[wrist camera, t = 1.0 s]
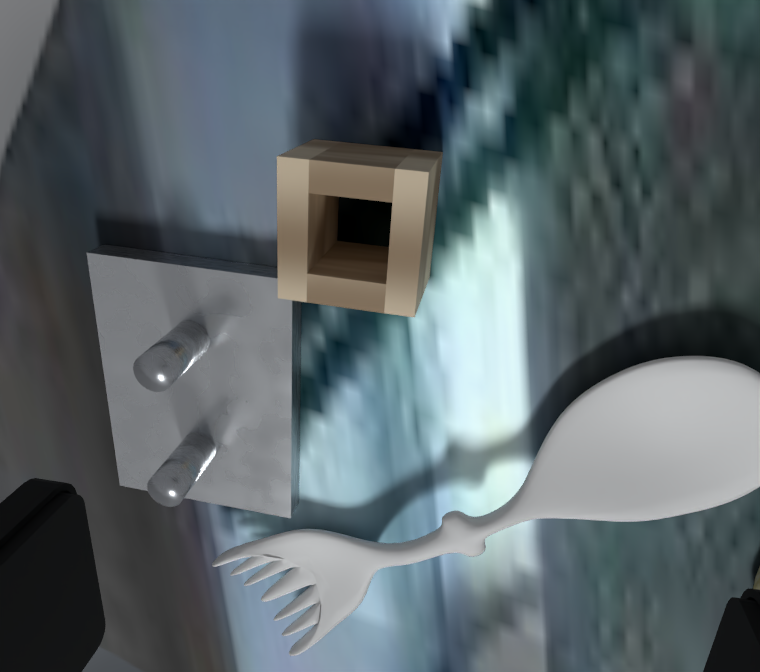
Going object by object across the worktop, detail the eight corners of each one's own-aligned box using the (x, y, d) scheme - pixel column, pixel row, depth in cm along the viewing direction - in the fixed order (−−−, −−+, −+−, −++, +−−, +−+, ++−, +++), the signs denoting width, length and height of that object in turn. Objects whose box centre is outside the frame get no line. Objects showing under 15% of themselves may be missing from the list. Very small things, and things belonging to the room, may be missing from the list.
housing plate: (104, 244, 33) (33, 278, 29) (301, 270, 32) (262, 311, 27) (133, 470, 40) (79, 530, 35) (298, 501, 38) (266, 568, 33)
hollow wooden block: (313, 139, 29) (277, 156, 25) (442, 152, 28) (429, 172, 24) (311, 262, 32) (277, 298, 27) (429, 277, 31) (414, 317, 26)
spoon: (226, 527, 41) (203, 566, 38) (731, 304, 29) (757, 336, 26) (306, 621, 43) (290, 666, 40) (805, 452, 31) (836, 497, 28)
